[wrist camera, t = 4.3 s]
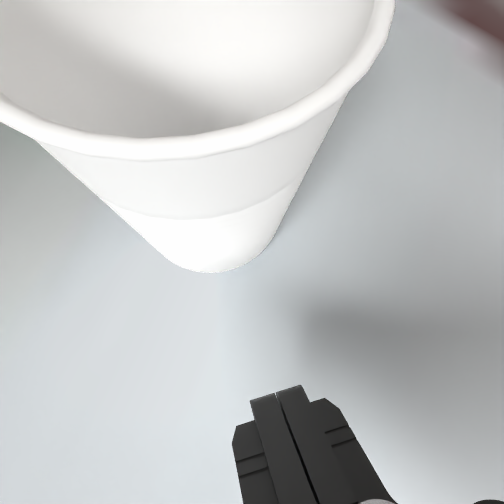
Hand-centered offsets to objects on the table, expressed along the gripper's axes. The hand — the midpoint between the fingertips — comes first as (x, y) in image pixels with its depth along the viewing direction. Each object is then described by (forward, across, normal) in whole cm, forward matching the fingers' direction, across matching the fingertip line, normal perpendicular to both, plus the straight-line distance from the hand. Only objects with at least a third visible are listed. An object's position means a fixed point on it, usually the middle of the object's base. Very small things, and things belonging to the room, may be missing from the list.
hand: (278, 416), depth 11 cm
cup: (+10, 0, -3) cm, 10 cm away
